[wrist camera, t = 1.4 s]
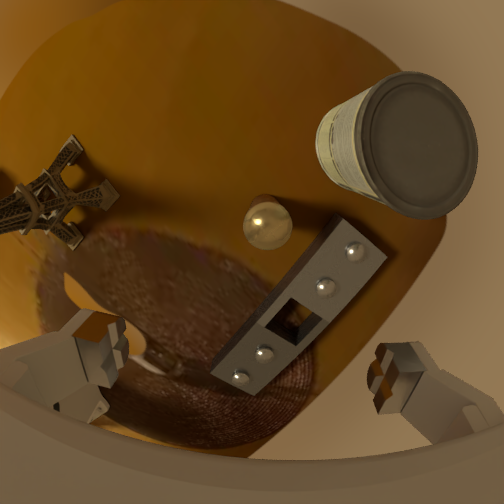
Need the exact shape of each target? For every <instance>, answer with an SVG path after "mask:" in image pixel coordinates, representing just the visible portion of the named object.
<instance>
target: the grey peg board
mask: <svg viewBox="0 0 504 504" xmlns="http://www.w3.org/2000/svg"><path fill="white" fill-rule="evenodd" d="M386 258H387V256H386V255H385V254H383V253H382V252H381V251H380V250H379V249H378V248H377V247H376V246H375V245H373V244H372V243H371V242H370V241H369V240H368V239H367V238H365V237H364V236H363V235H362V234H361V233H360V232H359V231H357V230H356V229H355V228H354V227H353V226H352V225H350V224H349V223H348V222H347V221H346V220H344V219H343V218H342V217H341V216H339V215H338V214H337V213H335V214H334V216H333V217H332V218H331V219H330V221H329V222H328V223H327V225H326V226H325V227H324V228H323V230H322V231H321V232H320V233H319V235H318V236H317V237H316V238H315V240H314V241H313V242H312V243H311V244H310V246H309V247H308V248H307V249H306V251H305V252H304V253H303V254H302V256H301V257H300V258H299V259H298V260H297V262H296V263H295V264H294V265H293V267H292V268H291V269H290V270H289V271H288V273H287V274H286V275H285V276H284V277H283V279H282V280H281V281H280V282H279V283H278V285H277V286H276V287H275V288H274V289H273V290H272V292H271V293H270V294H269V295H268V296H267V298H266V299H265V300H264V301H263V302H262V303H261V305H260V306H259V307H258V308H257V309H256V310H255V312H254V313H253V314H252V315H251V316H250V317H249V319H248V320H247V321H246V322H245V323H244V324H243V325H242V327H241V328H240V329H239V330H238V331H237V332H236V333H235V335H234V336H233V337H232V338H231V339H230V340H229V341H228V343H227V344H226V345H225V346H224V347H223V348H222V349H221V350H220V352H219V353H218V354H217V355H216V356H215V357H214V358H213V360H212V365H211V370H210V374H212V375H214V376H216V377H218V378H220V379H222V380H223V381H225V382H227V383H229V384H231V385H233V386H235V387H237V388H239V389H241V390H243V391H245V392H247V393H249V394H251V395H253V396H254V395H255V394H257V393H258V392H259V391H260V390H261V389H262V388H263V387H264V386H266V385H267V384H268V383H269V382H270V381H271V380H272V379H273V378H274V377H275V376H277V375H278V374H279V373H280V372H281V371H282V370H283V369H284V368H285V367H286V366H287V365H288V364H289V363H290V362H291V361H292V360H293V359H295V358H296V357H297V356H298V355H299V354H300V353H301V352H302V351H303V350H304V349H305V348H306V347H307V346H308V345H309V344H310V343H311V342H312V341H313V340H314V339H315V338H316V337H317V336H318V335H319V334H320V333H321V332H322V331H323V329H324V328H325V327H326V326H327V325H328V324H329V323H330V322H331V321H332V320H333V319H334V318H335V317H336V316H337V315H338V314H339V313H340V311H341V310H342V309H343V308H344V307H345V306H346V305H347V304H348V303H349V302H350V300H351V299H352V298H353V297H354V296H355V295H356V294H357V293H358V291H359V290H360V289H361V288H362V287H363V286H364V285H365V283H366V282H367V281H368V280H369V279H370V278H371V276H372V275H373V274H374V273H375V272H376V270H377V269H378V268H379V267H380V266H381V264H382V263H383V262H384V261H385V260H386ZM290 298H293V299H294V300H296V301H297V302H299V303H300V304H302V305H303V306H305V307H306V308H308V309H309V310H311V311H312V313H311V314H310V315H309V317H308V318H307V319H306V320H305V321H304V322H303V323H302V324H301V325H300V326H299V327H298V328H297V329H296V330H295V331H294V332H292V331H290V330H289V329H287V328H285V327H284V326H282V325H281V324H279V323H277V322H276V321H274V320H273V319H272V318H273V317H274V316H275V315H276V314H277V312H278V311H279V310H280V309H281V308H282V307H283V306H284V305H285V303H286V302H287V301H288V300H289V299H290Z"/></svg>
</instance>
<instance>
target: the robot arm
mask: <svg viewBox="0 0 504 504" xmlns="http://www.w3.org/2000/svg"><path fill="white" fill-rule="evenodd" d="M125 330H126V324H125V320H124V319H123V318H122V317H120V316H115V315H111V314H107V313H102V312H98V311H94V310H89V309H81V310H80V311H79V312H78V313H77V314H76V315H75V316H74V317H73V318H72V319H71V320H70V321H69V322H68V323H67V324H66V325H65V326H64V327H63V328H62V329H61V330H60V331H59V332H55V331H54V332H51V333H48V334H45V335H42V336H39V337H36V338H33V339H30V340H27V341H24V342H21V343H18V344H15V345H12V346H9V347H6V348H3V349H0V504H504V414H503V413H502V411H501V410H500V408H499V407H498V405H497V404H496V402H495V401H494V399H493V398H492V397H490V396H488V395H486V394H485V393H483V392H481V391H479V390H478V389H476V388H474V387H473V386H471V385H469V384H467V383H466V382H464V381H462V380H461V379H459V378H457V377H455V376H454V375H452V374H450V373H449V372H447V371H445V370H440V369H439V368H438V366H437V365H436V363H435V362H434V360H433V359H432V357H431V356H430V354H429V353H428V351H427V350H426V348H425V347H424V346H423V344H422V343H421V342H418V341H417V342H406V343H380V344H379V345H378V346H377V349H376V351H375V355H376V358H377V359H376V360H374V361H373V362H372V363H371V364H370V367H369V370H368V373H367V385H368V388H369V390H370V391H371V392H372V393H373V394H375V397H374V399H373V402H374V405H375V407H376V410H377V413H378V414H392V413H401V415H402V416H403V417H404V418H405V419H406V420H407V421H408V422H410V423H411V424H412V425H413V426H414V427H415V428H416V429H417V430H418V431H419V432H420V433H421V434H422V435H424V436H425V437H426V438H427V439H428V440H429V441H430V442H431V443H432V444H433V445H429V446H425V447H420V448H415V449H411V450H405V451H400V452H394V453H388V454H382V455H374V456H366V457H357V458H345V459H333V460H332V459H331V460H297V461H296V460H293V461H292V460H264V459H262V460H261V459H249V458H238V457H228V456H220V455H213V454H206V453H199V452H193V451H188V450H182V449H177V448H172V447H168V446H163V445H159V444H154V443H150V442H146V441H142V440H139V439H135V438H131V437H128V436H124V435H121V434H118V433H115V432H111V431H108V430H105V429H102V428H99V427H97V426H94V425H91V424H89V423H90V422H92V421H93V420H95V419H96V418H98V417H99V416H101V415H102V414H104V413H105V412H107V411H108V409H109V408H110V405H109V404H108V402H107V401H106V400H105V399H104V397H103V396H102V395H101V393H100V390H99V388H98V385H99V386H103V387H107V388H111V387H112V385H113V384H114V382H115V380H116V379H117V377H118V371H117V369H119V368H121V367H123V366H124V365H125V363H126V361H127V358H128V354H129V343H128V339H127V338H126V337H125V335H124V334H123V333H124V331H125Z"/></svg>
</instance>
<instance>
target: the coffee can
mask: <svg viewBox="0 0 504 504" xmlns="http://www.w3.org/2000/svg"><path fill="white" fill-rule="evenodd" d="M316 152H317V156H318V159H319V162H320V164H321V167H322V169H323V170H324V171H325V173H326V174H327V175H328V176H329V178H330V179H331V180H332V181H334V182H335V183H336V184H338V185H339V186H341V187H343V188H345V189H347V190H351V191H355V192H357V193H359V194H362V195H364V196H366V197H369V198H371V199H374V200H376V201H378V202H381V203H383V204H385V205H387V206H389V207H390V208H391V209H393V210H395V211H396V212H398V213H400V214H402V215H405V216H407V217H411V218H415V219H434V218H438V217H441V216H443V215H445V214H447V213H449V212H450V211H452V210H453V209H455V208H456V207H457V206H458V205H459V204H460V203H461V202H462V201H463V199H464V198H465V197H466V195H467V194H468V192H469V190H470V188H471V185H472V184H473V180H474V177H475V174H476V168H477V162H478V145H477V138H476V133H475V129H474V126H473V123H472V121H471V118H470V116H469V114H468V112H467V110H466V108H465V106H464V105H463V103H462V102H461V100H460V99H459V98H458V96H457V95H456V94H455V93H454V92H453V91H452V90H451V89H450V88H449V87H447V86H446V85H445V84H444V83H442V82H441V81H439V80H438V79H436V78H434V77H432V76H429V75H427V74H423V73H420V72H412V71H408V72H407V71H404V72H399V73H395V74H392V75H390V76H387V77H385V78H384V79H382V80H381V81H379V82H378V83H377V84H375V85H374V86H373V87H371V88H369V89H367V90H365V91H364V92H362V93H360V94H358V95H357V96H355V97H353V98H351V99H350V100H348V101H346V102H344V103H343V104H341V105H338V106H336V107H334V108H333V109H332V110H330V111H329V112H328V113H327V114H326V115H325V117H324V118H323V120H322V121H321V123H320V125H319V127H318V130H317V134H316Z"/></svg>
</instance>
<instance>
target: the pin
mask: <svg viewBox="0 0 504 504" xmlns="http://www.w3.org/2000/svg"><path fill="white" fill-rule="evenodd" d="M243 229H244V234H245V236H246V238H247V240H248V241H249V242H250V243H251V244H252V245H253V246H255V247H257V248H259V249H263V250H272V249H276V248H278V247H280V246H282V245H283V244H284V243H286V241H287V240H288V239H289V237H290V235H291V232H292V220H291V217H290V215H289V213H288V211H287V210H286V209H285V208H284V207H283V206H282V205H280V204H279V203H278V201H277V199H276V198H274V197H273V196H271V195H268V194H262V195H259V196H257V197H256V198H255V199H254V200H253V201H252V203H251V206H250V209H249V210H248V212H247V213H246V215H245V218H244V223H243Z"/></svg>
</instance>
